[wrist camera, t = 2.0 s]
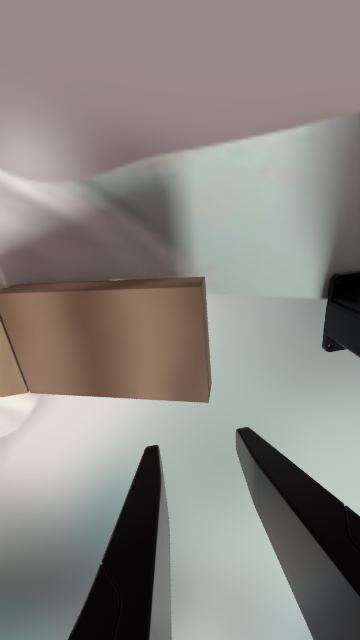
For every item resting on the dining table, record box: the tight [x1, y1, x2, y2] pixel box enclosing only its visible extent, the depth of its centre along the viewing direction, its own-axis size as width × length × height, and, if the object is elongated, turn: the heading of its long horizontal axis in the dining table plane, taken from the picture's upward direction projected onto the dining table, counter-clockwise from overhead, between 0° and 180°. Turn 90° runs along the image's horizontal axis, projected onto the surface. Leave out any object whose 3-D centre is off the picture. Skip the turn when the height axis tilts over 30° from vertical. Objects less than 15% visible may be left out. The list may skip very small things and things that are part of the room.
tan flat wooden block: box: [0, 277, 211, 403], centre depth 17 cm, size 12×7×2 cm, turn 96°
